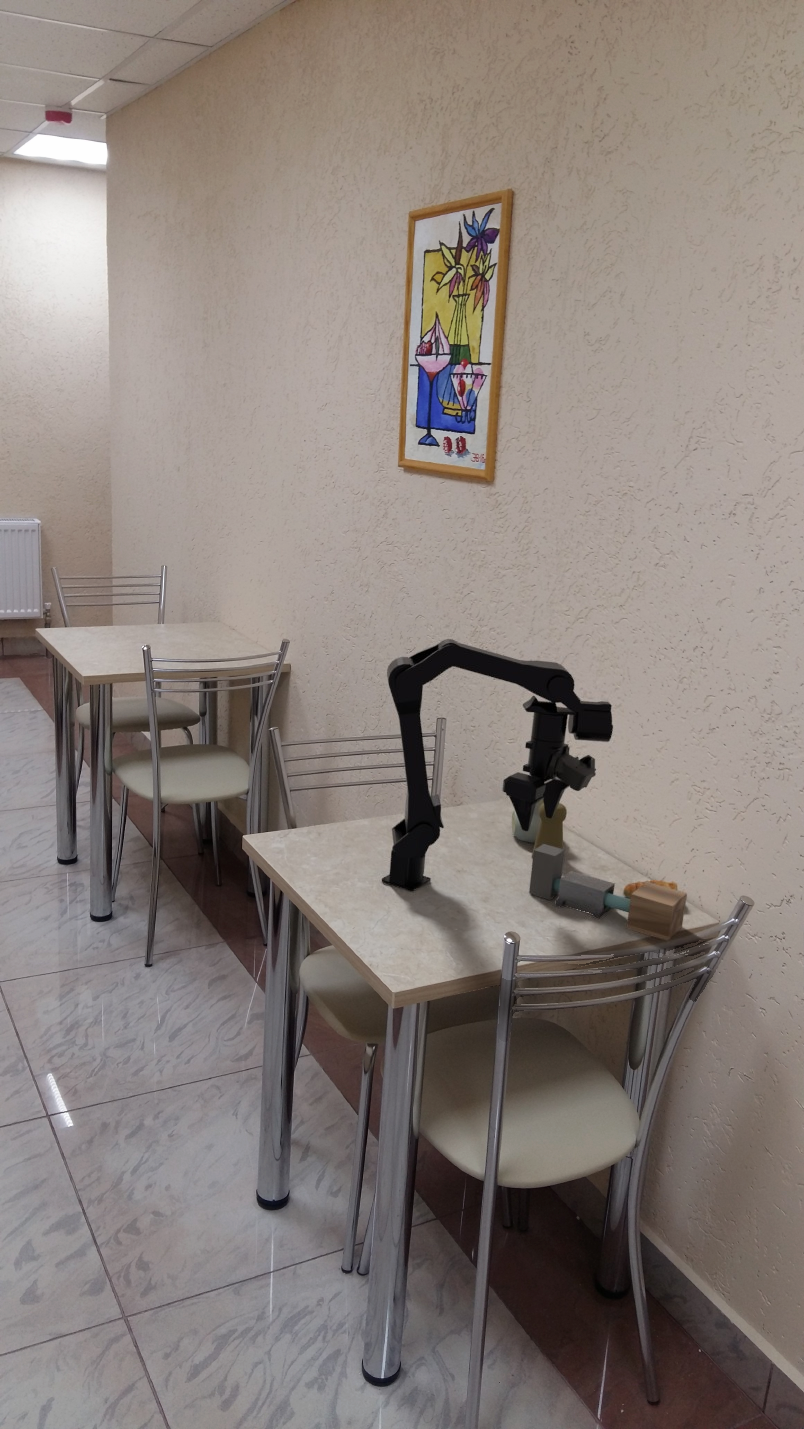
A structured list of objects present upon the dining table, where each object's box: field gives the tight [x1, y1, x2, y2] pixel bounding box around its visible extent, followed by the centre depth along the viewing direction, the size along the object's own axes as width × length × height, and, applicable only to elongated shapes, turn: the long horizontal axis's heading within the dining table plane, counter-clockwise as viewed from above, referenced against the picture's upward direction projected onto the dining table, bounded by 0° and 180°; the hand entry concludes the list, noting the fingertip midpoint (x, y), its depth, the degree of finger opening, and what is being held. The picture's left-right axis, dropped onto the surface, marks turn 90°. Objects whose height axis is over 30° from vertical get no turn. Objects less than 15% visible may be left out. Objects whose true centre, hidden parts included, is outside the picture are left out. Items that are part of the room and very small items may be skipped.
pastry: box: [622, 879, 678, 899], centre depth 193 cm, size 9×7×4 cm
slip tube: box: [528, 844, 630, 914], centre depth 186 cm, size 4×24×8 cm, turn 57°
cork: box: [531, 802, 568, 860], centre depth 208 cm, size 6×6×11 cm
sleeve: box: [554, 870, 616, 920], centre depth 188 cm, size 6×8×5 cm
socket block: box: [626, 881, 688, 941], centre depth 181 cm, size 7×7×6 cm
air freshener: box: [511, 799, 544, 844], centre depth 218 cm, size 11×8×10 cm
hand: (537, 824), depth 192 cm, fingers open, 9 cm apart
